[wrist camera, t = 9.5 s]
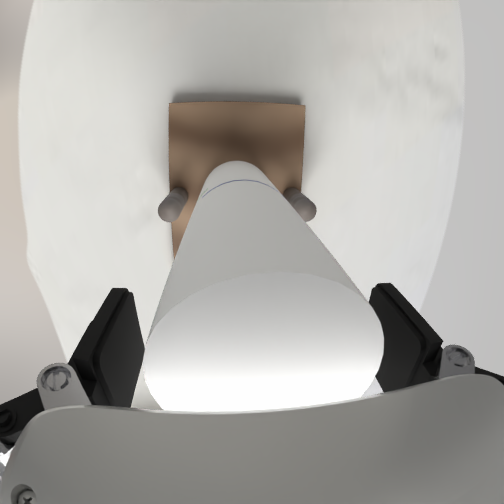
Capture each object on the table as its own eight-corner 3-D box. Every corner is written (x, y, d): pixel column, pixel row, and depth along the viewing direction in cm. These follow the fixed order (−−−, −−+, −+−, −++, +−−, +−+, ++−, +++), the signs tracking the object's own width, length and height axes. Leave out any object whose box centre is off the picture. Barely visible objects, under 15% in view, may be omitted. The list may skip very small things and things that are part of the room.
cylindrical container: (282, 204, 32) (401, 383, 9) (225, 237, 33) (232, 457, 10) (248, 147, 29) (333, 212, 6) (189, 184, 30) (93, 349, 7)
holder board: (171, 104, 28) (155, 96, 21) (301, 106, 29) (323, 100, 22) (177, 274, 35) (167, 308, 29) (290, 273, 37) (305, 306, 30)
